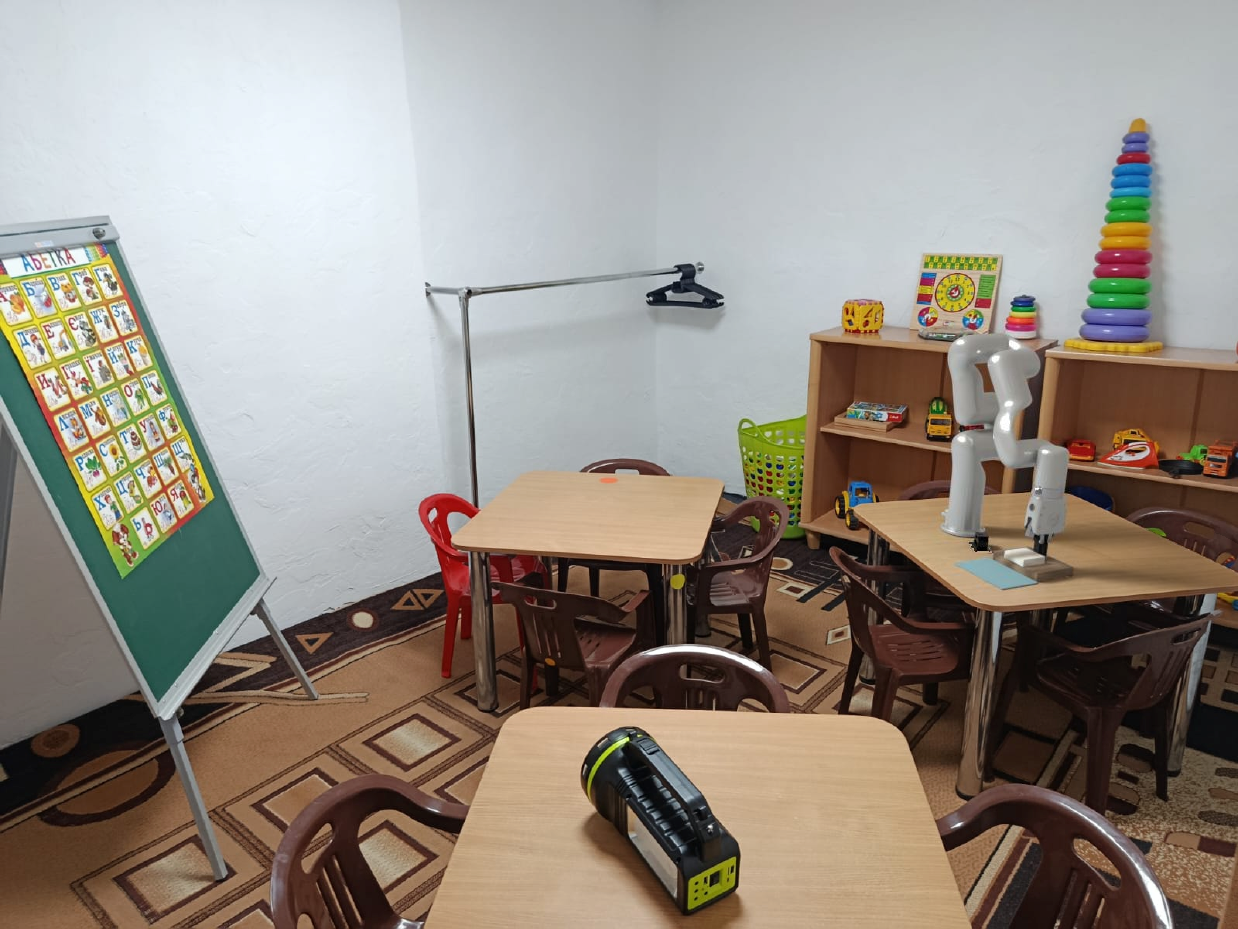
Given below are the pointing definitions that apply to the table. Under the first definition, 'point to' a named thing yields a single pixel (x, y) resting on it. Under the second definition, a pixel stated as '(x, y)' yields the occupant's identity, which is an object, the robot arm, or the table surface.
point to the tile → (1024, 557)
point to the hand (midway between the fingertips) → (1039, 555)
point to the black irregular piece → (980, 542)
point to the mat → (996, 573)
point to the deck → (1037, 567)
